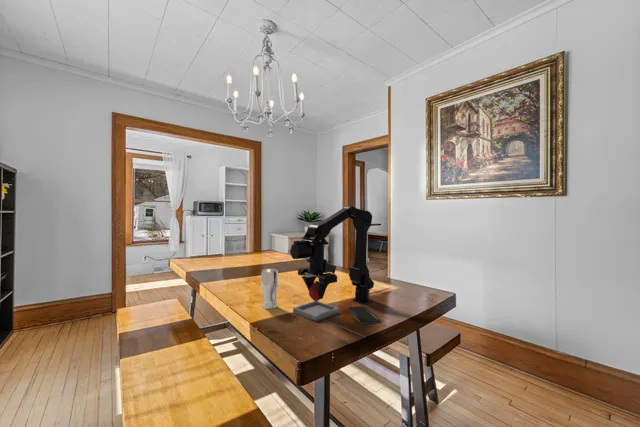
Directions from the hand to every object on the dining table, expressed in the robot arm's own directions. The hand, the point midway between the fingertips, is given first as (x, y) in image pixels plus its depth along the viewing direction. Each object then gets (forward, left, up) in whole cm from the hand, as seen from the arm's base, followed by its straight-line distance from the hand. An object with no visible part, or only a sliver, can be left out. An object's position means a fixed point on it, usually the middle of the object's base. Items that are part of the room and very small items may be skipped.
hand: (316, 296), depth 108 cm
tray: (0, 0, -6) cm, 6 cm away
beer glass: (+9, -18, -6) cm, 21 cm away
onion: (0, 0, -2) cm, 2 cm away
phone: (-11, +14, -7) cm, 19 cm away
